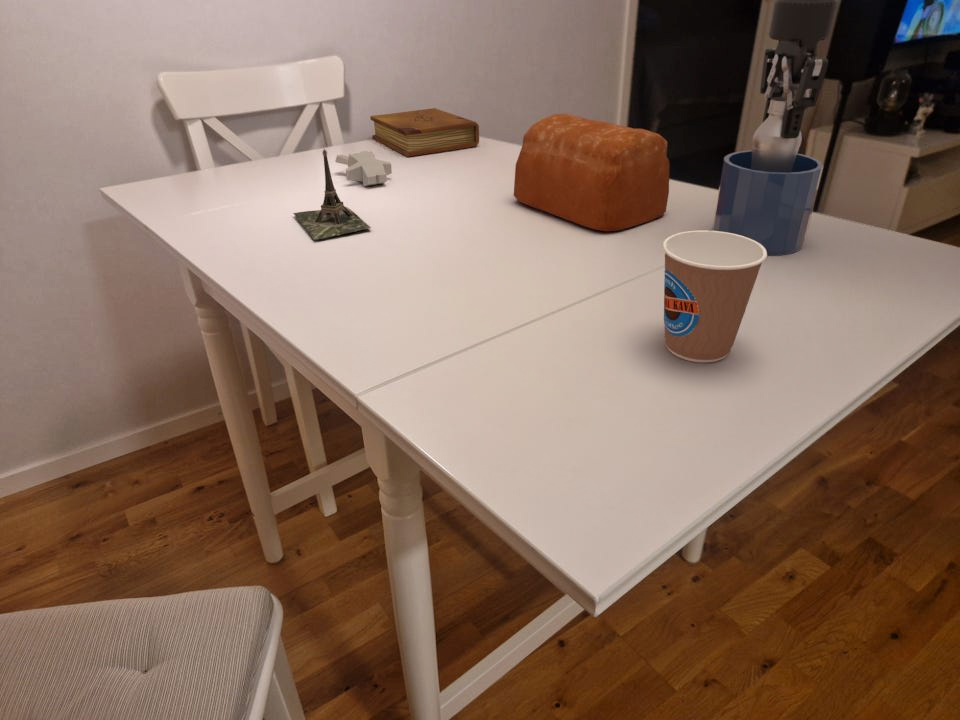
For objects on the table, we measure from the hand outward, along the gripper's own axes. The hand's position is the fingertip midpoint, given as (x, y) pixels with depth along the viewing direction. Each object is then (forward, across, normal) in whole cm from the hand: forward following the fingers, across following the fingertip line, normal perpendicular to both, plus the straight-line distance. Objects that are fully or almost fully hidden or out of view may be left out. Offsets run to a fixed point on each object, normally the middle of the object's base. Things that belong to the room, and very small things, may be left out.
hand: (779, 132), depth 94 cm
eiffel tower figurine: (+16, +15, +68) cm, 72 cm away
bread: (+16, +18, +23) cm, 33 cm away
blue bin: (+16, 0, 0) cm, 16 cm away
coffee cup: (+16, -32, +20) cm, 41 cm away
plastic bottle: (+16, 0, 0) cm, 16 cm away
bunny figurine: (+16, +42, +65) cm, 79 cm away
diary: (+16, +73, +54) cm, 92 cm away
